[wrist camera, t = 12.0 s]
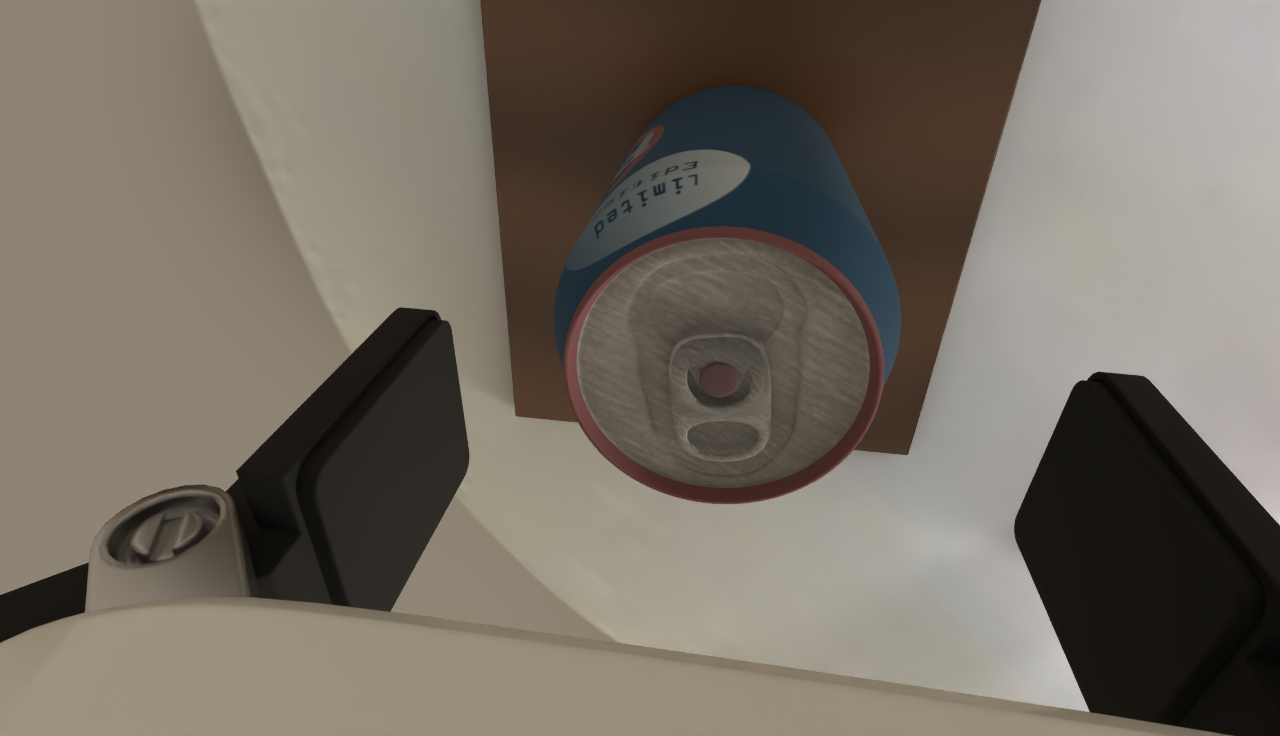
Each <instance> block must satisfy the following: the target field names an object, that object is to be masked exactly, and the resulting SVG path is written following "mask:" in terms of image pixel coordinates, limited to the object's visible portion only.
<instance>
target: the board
mask: <svg viewBox="0 0 1280 736" xmlns="http://www.w3.org/2000/svg"><path fill="white" fill-rule="evenodd" d="M1040 3H1041V0H481V12H482V24H483V36H484V48H485V59H486V71H487V83H488V95H489V107H490V118H491V130H492V142H493V154H494V166H495V178H496V189H497V201H498V213H499V225H500V237H501V248H502V260H503V272H504V284H505V296H506V308H507V319H508V331H509V343H510V355H511V367H512V379H513V390H514V402H515V414H516V416H519V417H529V418H539V419H549V420H559V421H569V422H578V421H577V419H576V417H575V415H574V412H573V410H572V408H571V405H570V402H569V399H568V396H567V392H566V388H565V382H564V373H563V366H562V363H561V360H560V357H559V353H558V350H557V345H556V340H555V333H554V304H555V296H556V291H557V286H558V283H559V280H560V276H561V273H562V271H563V268H564V266H565V263H566V261H567V259H568V257H569V255H570V253H571V251H572V249H573V248H574V246H575V244H576V243H577V241H578V239H579V238H580V236H581V234H582V232H583V231H584V229H585V227H586V226H587V224H588V222H589V221H590V219H591V217H592V215H593V214H594V212H595V210H596V209H597V207H598V205H599V204H600V202H601V200H602V199H603V197H604V195H605V193H606V192H607V190H608V188H609V187H610V185H611V183H612V182H613V180H614V178H615V177H616V175H617V173H618V171H619V170H620V168H621V166H622V165H623V163H624V161H625V160H626V158H627V156H628V154H629V153H630V151H631V149H632V148H633V146H634V144H635V143H636V141H637V139H638V138H639V136H640V135H641V134H642V132H643V131H644V130H645V128H646V127H647V126H648V125H649V124H650V123H651V122H652V121H653V120H654V119H655V118H656V117H657V116H658V115H659V114H660V113H661V112H663V111H664V110H665V109H667V108H668V107H669V106H671V105H673V104H674V103H676V102H677V101H679V100H681V99H683V98H685V97H687V96H690V95H692V94H695V93H697V92H701V91H704V90H708V89H712V88H718V87H726V86H744V87H753V88H758V89H763V90H766V91H770V92H773V93H775V94H778V95H780V96H782V97H784V98H787V99H788V100H790V101H792V102H794V103H795V104H797V105H798V106H800V107H801V108H802V109H804V110H805V111H806V112H807V113H808V114H810V115H811V116H812V117H813V118H814V119H815V120H816V121H817V122H818V124H819V125H820V126H821V127H822V129H823V130H824V131H825V133H826V134H827V136H828V137H829V139H830V141H831V143H832V144H833V146H834V148H835V151H836V153H837V155H838V157H839V159H840V161H841V163H842V165H843V167H844V170H845V172H846V174H847V176H848V178H849V180H850V182H851V184H852V186H853V189H854V191H855V193H856V195H857V197H858V199H859V201H860V203H861V205H862V208H863V210H864V212H865V214H866V216H867V218H868V220H869V222H870V224H871V227H872V229H873V231H874V233H875V235H876V237H877V239H878V241H879V243H880V246H881V248H882V250H883V252H884V254H885V256H886V258H887V260H888V263H889V265H890V267H891V270H892V272H893V275H894V278H895V281H896V285H897V289H898V294H899V300H900V309H901V331H900V339H899V345H898V350H897V354H896V358H895V361H894V364H893V367H892V370H891V372H890V374H889V377H888V379H887V381H886V383H885V385H884V387H883V390H882V394H881V399H880V402H879V406H878V409H877V412H876V414H875V416H874V419H873V421H872V423H871V425H870V426H869V428H868V430H867V432H866V433H865V435H864V436H863V438H862V439H861V441H860V442H859V443H858V445H857V446H856V447H855V449H854V450H861V451H871V452H881V453H891V454H901V455H908V453H909V450H910V446H911V443H912V440H913V436H914V433H915V429H916V426H917V423H918V419H919V416H920V412H921V409H922V405H923V402H924V399H925V395H926V392H927V388H928V385H929V382H930V378H931V375H932V371H933V368H934V365H935V361H936V358H937V354H938V351H939V347H940V344H941V341H942V337H943V334H944V330H945V327H946V324H947V320H948V317H949V313H950V310H951V307H952V303H953V300H954V296H955V293H956V289H957V286H958V283H959V279H960V276H961V272H962V269H963V266H964V262H965V259H966V255H967V252H968V248H969V245H970V242H971V238H972V235H973V231H974V228H975V225H976V221H977V218H978V214H979V211H980V208H981V204H982V201H983V197H984V194H985V190H986V187H987V184H988V180H989V177H990V173H991V170H992V167H993V163H994V160H995V156H996V153H997V150H998V146H999V143H1000V139H1001V136H1002V132H1003V129H1004V126H1005V122H1006V119H1007V115H1008V112H1009V109H1010V105H1011V102H1012V98H1013V95H1014V92H1015V88H1016V85H1017V81H1018V78H1019V74H1020V71H1021V68H1022V64H1023V61H1024V57H1025V54H1026V51H1027V47H1028V44H1029V40H1030V37H1031V34H1032V30H1033V27H1034V23H1035V20H1036V16H1037V13H1038V10H1039V6H1040Z"/></svg>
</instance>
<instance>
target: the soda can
mask: <svg viewBox="0 0 1280 736" xmlns="http://www.w3.org/2000/svg"><path fill="white" fill-rule="evenodd" d="M900 331H901V309H900V300H899V294H898V289H897V285H896V281H895V278H894V275H893V272H892V270H891V267H890V265H889V263H888V260H887V258H886V256H885V254H884V252H883V250H882V248H881V246H880V243H879V241H878V239H877V237H876V235H875V233H874V231H873V229H872V227H871V224H870V222H869V220H868V218H867V216H866V214H865V212H864V210H863V208H862V205H861V203H860V201H859V199H858V197H857V195H856V193H855V191H854V189H853V186H852V184H851V182H850V180H849V178H848V176H847V174H846V172H845V170H844V167H843V165H842V163H841V161H840V159H839V157H838V155H837V153H836V151H835V148H834V146H833V144H832V143H831V141H830V139H829V137H828V136H827V134H826V133H825V131H824V130H823V129H822V127H821V126H820V125H819V124H818V122H817V121H816V120H815V119H814V118H813V117H812V116H811V115H810V114H808V113H807V112H806V111H805V110H804V109H802V108H801V107H800V106H798V105H797V104H795V103H794V102H792V101H790V100H788V99H787V98H784V97H782V96H780V95H778V94H775V93H773V92H770V91H766V90H763V89H758V88H753V87H744V86H726V87H718V88H712V89H708V90H704V91H701V92H697V93H695V94H692V95H690V96H687V97H685V98H683V99H681V100H679V101H677V102H676V103H674V104H673V105H671V106H669V107H668V108H667V109H665V110H664V111H663V112H661V113H660V114H659V115H658V116H657V117H656V118H655V119H654V120H653V121H652V122H651V123H650V124H649V125H648V126H647V127H646V128H645V130H644V131H643V132H642V134H641V135H640V136H639V138H638V139H637V141H636V143H635V144H634V146H633V148H632V149H631V151H630V153H629V154H628V156H627V158H626V160H625V161H624V163H623V165H622V166H621V168H620V170H619V171H618V173H617V175H616V177H615V178H614V180H613V182H612V183H611V185H610V187H609V188H608V190H607V192H606V193H605V195H604V197H603V199H602V200H601V202H600V204H599V205H598V207H597V209H596V210H595V212H594V214H593V215H592V217H591V219H590V221H589V222H588V224H587V226H586V227H585V229H584V231H583V232H582V234H581V236H580V238H579V239H578V241H577V243H576V244H575V246H574V248H573V249H572V251H571V253H570V255H569V257H568V259H567V261H566V263H565V266H564V268H563V271H562V273H561V276H560V280H559V283H558V286H557V291H556V296H555V304H554V333H555V340H556V345H557V350H558V353H559V357H560V360H561V363H562V366H563V373H564V382H565V388H566V392H567V396H568V399H569V402H570V405H571V408H572V410H573V412H574V415H575V417H576V419H577V421H578V423H579V425H580V426H581V428H582V430H583V431H584V433H585V434H586V436H587V437H588V439H589V440H590V441H591V443H592V444H593V445H594V446H595V447H596V448H597V450H598V451H599V452H600V453H601V454H602V455H603V456H604V457H605V458H606V459H607V460H608V461H610V462H611V463H612V464H613V465H614V466H615V467H617V468H618V469H619V470H621V471H622V472H624V473H625V474H627V475H628V476H630V477H631V478H633V479H635V480H636V481H638V482H640V483H642V484H644V485H646V486H648V487H650V488H652V489H655V490H657V491H659V492H662V493H665V494H668V495H671V496H674V497H678V498H681V499H686V500H691V501H696V502H703V503H713V504H741V503H751V502H757V501H763V500H768V499H772V498H776V497H779V496H782V495H785V494H788V493H791V492H794V491H796V490H798V489H801V488H803V487H805V486H807V485H809V484H811V483H813V482H814V481H816V480H818V479H820V478H821V477H823V476H824V475H826V474H827V473H829V472H830V471H831V470H833V469H834V468H835V467H836V466H838V465H839V464H840V463H841V462H842V461H843V460H844V459H845V458H846V457H847V456H848V455H849V454H850V453H851V452H852V451H853V450H854V449H855V447H856V446H857V445H858V443H859V442H860V441H861V439H862V438H863V436H864V435H865V433H866V432H867V430H868V428H869V426H870V425H871V423H872V421H873V419H874V416H875V414H876V412H877V409H878V406H879V402H880V399H881V394H882V390H883V387H884V385H885V383H886V381H887V379H888V377H889V374H890V372H891V370H892V367H893V364H894V361H895V358H896V354H897V350H898V345H899V339H900Z"/></svg>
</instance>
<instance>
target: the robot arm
mask: <svg viewBox="0 0 1280 736" xmlns="http://www.w3.org/2000/svg"><path fill="white" fill-rule="evenodd" d="M468 464H469V447H468V441H467V434H466V427H465V420H464V413H463V406H462V399H461V392H460V385H459V378H458V371H457V364H456V357H455V350H454V343H453V336H452V330H451V326H450V324H449V322H448V321H445V320H441V318H440V316H439V314H438V313H437V312H436V311H434V310H423V309H412V308H398V309H396V310H395V311H394V312H393V313H392V314H391V315H390V316H389V317H388V318H387V319H386V320H385V321H384V322H383V323H382V324H381V325H380V326H379V327H378V328H377V329H376V330H375V331H374V332H373V333H372V334H371V335H370V336H369V337H368V338H367V339H366V340H365V341H364V342H363V343H362V344H361V345H360V346H359V347H358V348H357V349H356V350H355V351H354V352H353V353H352V354H351V355H350V356H349V357H348V358H347V360H345V362H343V363H342V365H341V366H340V367H339V368H338V369H337V370H336V371H335V372H334V373H333V374H332V375H331V376H330V377H329V378H328V379H327V380H326V381H325V382H324V383H323V384H322V385H321V386H320V387H319V388H318V389H317V390H316V391H315V392H314V393H313V394H312V395H311V396H310V397H309V398H308V399H307V400H306V401H305V402H304V403H303V404H302V405H301V406H300V407H299V408H298V409H297V410H296V411H295V412H294V413H293V414H292V415H291V416H290V417H289V418H288V419H287V420H286V421H285V422H284V423H283V424H282V425H281V426H280V427H279V428H278V429H277V430H276V431H275V432H274V433H273V434H272V435H271V436H270V437H269V438H268V440H266V442H264V443H263V444H262V445H261V446H260V447H259V449H257V450H256V452H255V453H254V454H253V455H252V456H251V457H250V458H249V459H248V460H247V461H246V462H245V463H244V464H243V465H242V466H241V467H240V468H239V469H238V470H237V471H236V472H237V475H238V478H239V479H238V480H237V481H236V482H235V483H234V484H233V485H232V486H231V487H230V488H229V489H228V490H227V491H226V492H225V491H224V490H222V489H220V488H217V487H213V486H208V485H185V486H180V487H175V488H171V489H166V490H162V491H160V492H158V493H154V494H152V495H149V496H147V497H144V498H142V499H140V500H138V501H137V502H135V503H133V504H131V505H129V506H127V507H126V508H124V509H122V510H121V511H120V512H119V513H117V514H116V515H115V516H114V517H112V518H111V519H110V520H109V521H107V522H106V523H105V525H104V526H103V527H102V528H101V530H100V531H99V532H98V533H97V535H96V536H95V538H94V540H93V544H92V546H91V549H90V557H89V563H86V564H83V565H81V566H78V567H75V568H72V569H70V570H67V571H64V572H62V573H59V574H56V575H53V576H51V577H48V578H45V579H43V580H40V581H37V582H35V583H32V584H29V585H26V586H24V587H21V588H18V589H16V590H13V591H10V592H8V593H5V594H2V595H0V736H1280V525H1279V524H1278V523H1277V522H1276V521H1275V520H1274V519H1273V518H1272V517H1271V515H1270V514H1269V513H1268V512H1267V511H1266V510H1265V509H1264V508H1263V507H1262V505H1261V504H1260V503H1259V502H1258V501H1257V500H1256V499H1255V498H1254V496H1253V495H1252V494H1251V493H1250V492H1249V491H1248V490H1247V489H1246V488H1245V486H1244V485H1243V484H1242V483H1241V482H1240V481H1239V480H1238V479H1237V477H1236V476H1235V475H1234V474H1233V473H1232V472H1231V471H1230V470H1229V469H1228V467H1227V466H1226V465H1225V464H1224V463H1223V462H1222V461H1221V460H1220V459H1219V457H1218V456H1217V455H1216V454H1215V453H1214V452H1213V451H1212V450H1211V448H1210V447H1209V446H1208V445H1207V444H1206V443H1205V442H1204V441H1203V440H1202V438H1201V437H1200V436H1199V435H1198V434H1197V433H1196V432H1195V431H1194V429H1193V428H1192V427H1191V426H1190V425H1189V424H1188V423H1187V422H1186V421H1185V419H1184V418H1183V417H1182V416H1181V415H1180V414H1179V413H1178V412H1177V411H1176V409H1175V408H1174V407H1173V406H1172V405H1171V404H1170V403H1169V402H1168V400H1167V399H1166V398H1165V397H1164V396H1163V395H1162V394H1161V393H1160V392H1159V390H1158V389H1157V388H1156V387H1155V386H1154V385H1153V384H1152V383H1151V382H1150V380H1148V379H1147V378H1146V377H1144V376H1138V375H1127V374H1116V373H1105V372H1097V373H1094V374H1092V375H1091V376H1090V377H1089V378H1088V380H1087V381H1084V380H1082V381H1079V382H1078V383H1077V384H1075V386H1074V387H1073V389H1072V391H1071V393H1070V396H1069V398H1068V400H1067V402H1066V405H1065V407H1064V409H1063V411H1062V414H1061V416H1060V418H1059V420H1058V423H1057V425H1056V427H1055V430H1054V432H1053V434H1052V436H1051V439H1050V441H1049V443H1048V445H1047V448H1046V450H1045V452H1044V454H1043V457H1042V459H1041V461H1040V463H1039V466H1038V468H1037V470H1036V473H1035V475H1034V477H1033V479H1032V482H1031V484H1030V486H1029V488H1028V491H1027V493H1026V495H1025V497H1024V500H1023V502H1022V504H1021V507H1020V509H1019V511H1018V513H1017V516H1016V519H1015V525H1014V533H1015V539H1016V542H1017V544H1018V547H1019V549H1020V551H1021V554H1022V556H1023V558H1024V560H1025V563H1026V565H1027V567H1028V570H1029V572H1030V574H1031V577H1032V579H1033V581H1034V584H1035V586H1036V588H1037V591H1038V593H1039V595H1040V597H1041V600H1042V602H1043V604H1044V607H1045V609H1046V611H1047V614H1048V616H1049V618H1050V621H1051V623H1052V625H1053V628H1054V630H1055V632H1056V635H1057V637H1058V639H1059V641H1060V644H1061V646H1062V648H1063V651H1064V653H1065V655H1066V658H1067V660H1068V662H1069V665H1070V667H1071V669H1072V672H1073V674H1074V676H1075V678H1076V681H1077V683H1078V685H1079V688H1080V690H1081V692H1082V695H1083V697H1084V699H1085V702H1086V704H1087V706H1088V709H1089V711H1090V712H1084V711H1077V710H1071V709H1064V708H1057V707H1051V706H1044V705H1037V704H1031V703H1024V702H1017V701H1011V700H1004V699H998V698H991V697H984V696H978V695H971V694H964V693H958V692H951V691H944V690H938V689H931V688H924V687H918V686H911V685H904V684H898V683H891V682H884V681H878V680H871V679H864V678H857V677H850V676H843V675H837V674H830V673H823V672H816V671H809V670H802V669H795V668H789V667H782V666H775V665H768V664H761V663H754V662H747V661H740V660H733V659H726V658H720V657H713V656H706V655H699V654H692V653H685V652H678V651H671V650H664V649H657V648H650V647H643V646H636V645H629V644H622V643H615V642H607V641H600V640H593V639H586V638H579V637H572V636H565V635H558V634H550V633H543V632H536V631H529V630H521V629H514V628H507V627H499V626H493V625H485V624H478V623H471V622H464V621H457V620H450V619H443V618H435V617H426V616H419V615H410V614H402V613H394V612H390V611H391V609H392V608H393V606H394V604H395V602H396V600H397V598H398V597H399V595H400V593H401V591H402V589H403V587H404V586H405V584H406V582H407V580H408V578H409V577H410V575H411V573H412V571H413V569H414V568H415V565H416V564H417V562H418V560H419V558H420V557H421V555H422V553H423V551H424V549H425V548H426V545H427V544H428V542H429V540H430V538H431V536H432V535H433V533H434V531H435V529H436V528H437V526H438V524H439V522H440V520H441V518H442V517H443V515H444V513H445V511H446V509H447V508H448V506H449V504H450V502H451V500H452V498H453V497H454V495H455V493H456V491H457V489H458V488H459V486H460V484H461V482H462V480H463V478H464V477H465V474H466V472H467V469H468Z"/></svg>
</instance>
